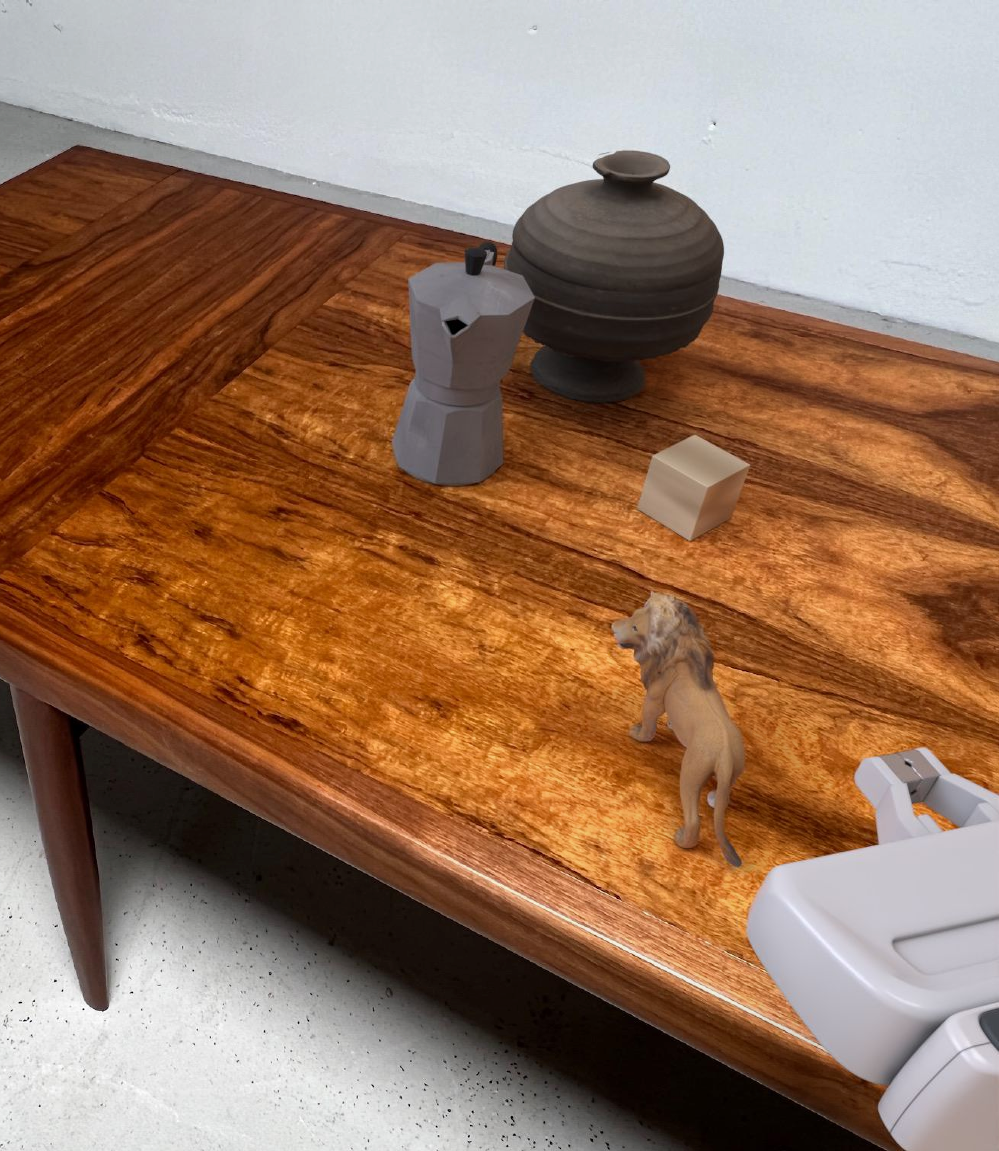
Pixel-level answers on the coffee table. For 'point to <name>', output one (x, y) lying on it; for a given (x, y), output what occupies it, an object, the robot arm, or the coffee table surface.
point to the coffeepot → (460, 367)
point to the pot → (614, 276)
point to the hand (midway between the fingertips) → (886, 761)
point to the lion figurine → (685, 708)
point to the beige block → (692, 487)
